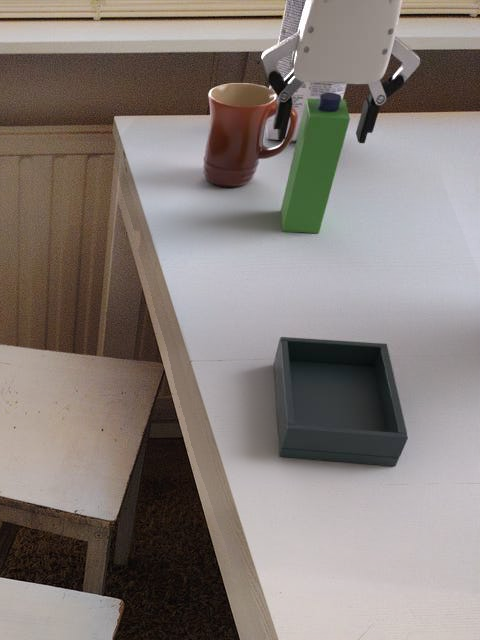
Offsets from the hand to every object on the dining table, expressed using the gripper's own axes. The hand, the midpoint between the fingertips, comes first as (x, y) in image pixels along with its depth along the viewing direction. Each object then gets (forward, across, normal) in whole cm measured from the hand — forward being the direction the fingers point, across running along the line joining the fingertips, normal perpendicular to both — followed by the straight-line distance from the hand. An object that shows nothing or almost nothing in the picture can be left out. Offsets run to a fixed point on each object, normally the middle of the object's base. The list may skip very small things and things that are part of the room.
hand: (320, 137), depth 98 cm
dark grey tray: (+10, -1, +41) cm, 42 cm away
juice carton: (+10, -1, -30) cm, 31 cm away
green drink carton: (+10, 0, 0) cm, 10 cm away
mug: (+10, +7, -12) cm, 17 cm away
